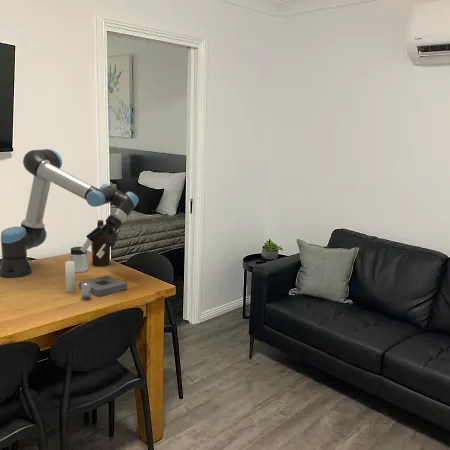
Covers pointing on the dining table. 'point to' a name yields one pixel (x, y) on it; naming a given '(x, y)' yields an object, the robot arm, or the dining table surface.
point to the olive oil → (97, 246)
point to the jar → (79, 259)
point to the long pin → (70, 276)
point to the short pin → (85, 290)
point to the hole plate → (105, 285)
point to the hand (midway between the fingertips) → (90, 253)
